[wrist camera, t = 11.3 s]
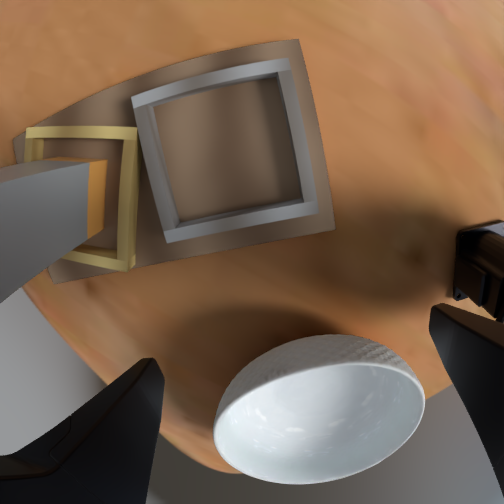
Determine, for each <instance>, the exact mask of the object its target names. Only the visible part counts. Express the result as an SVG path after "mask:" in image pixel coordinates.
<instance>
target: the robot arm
mask: <svg viewBox="0 0 504 504" xmlns="http://www.w3.org/2000/svg"><path fill="white" fill-rule="evenodd" d="M462 235H463V238H462ZM458 294H459V295H458ZM457 295H458V296H457ZM468 297H469V298H470V299H471V300H472V301H473V302H474V303H475V304H476V305H477V306H478V307H480V306H482V307H483V308H484V309H485V310H486V311H487V312H488V313H489V314H490V315H491V316H492V317H493V318H496V320H495V321H494V320H491V319H488V318H485V317H482V316H480V315H477V314H474V313H471V312H468V311H465V310H462V309H459V308H457V307H454V306H451V305H448V304H445V303H440V304H437V305H434V306H432V308H431V312H430V321H429V332H430V335H431V337H432V339H433V342H434V344H435V346H436V349H437V351H438V353H439V355H440V358H441V360H442V363H443V365H444V367H445V369H446V371H447V373H448V375H449V377H450V379H451V380H452V382H453V384H454V386H455V388H456V390H457V391H458V394H459V395H460V397H461V399H462V401H463V403H464V405H465V407H466V409H467V411H468V413H469V415H470V417H471V419H472V421H473V424H474V426H475V428H476V430H477V432H478V434H479V436H480V439H481V441H482V443H483V445H484V448H485V450H486V452H487V455H488V457H489V459H490V462H491V464H492V467H494V468H493V470H494V472H495V475H496V477H497V480H498V482H499V485H500V488H501V490H502V494H503V496H504V221H500V222H495V223H491V224H487V225H482V226H478V227H474V228H469V229H465V230H461V231H459V232H458V234H457V246H456V261H455V274H454V288H453V298H454V299H455V300H456V301H459V300H462V299H465V298H468ZM164 384H165V380H164V376H163V374H162V372H161V370H160V368H159V366H158V364H157V362H156V360H155V359H154V358H143V359H141V360H140V361H138V362H137V363H136V364H135V365H133V366H132V367H131V368H130V369H128V370H127V371H126V372H125V373H123V374H122V375H121V376H119V377H118V378H117V379H116V380H114V381H113V382H112V383H111V384H109V385H108V386H107V387H106V388H104V389H103V390H102V391H101V392H99V393H98V394H97V395H95V396H94V397H93V398H92V399H90V400H89V401H88V402H87V403H85V404H84V405H83V406H81V407H80V408H79V409H78V410H76V411H75V412H74V413H72V414H71V416H68V417H67V418H66V419H65V420H63V421H62V422H61V423H59V424H58V425H57V426H55V427H54V428H53V429H51V430H50V431H48V432H47V433H45V434H44V435H42V436H41V437H39V438H38V439H36V440H34V441H33V442H31V443H30V444H28V445H26V446H25V447H24V448H22V449H20V450H19V451H17V452H15V453H13V454H9V455H3V456H0V504H145V503H146V497H147V492H148V485H149V480H150V475H151V469H152V464H153V458H154V453H155V448H156V443H157V438H158V433H159V428H160V423H161V415H162V404H163V394H164Z"/></svg>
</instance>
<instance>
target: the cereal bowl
mask: <svg viewBox="0 0 504 504" xmlns="http://www.w3.org/2000/svg"><path fill="white" fill-rule="evenodd" d="M424 407H425V395H424V391H423V387H422V385H421V384H420V381H419V380H418V378H417V377H416V375H415V373H414V372H413V371H412V370H411V368H410V366H408V365H407V363H406V362H405V361H404V360H403V359H401V357H400V356H399V355H397V354H396V353H394V352H393V350H391V349H389V348H387V347H386V346H385V345H382V344H380V343H378V342H374V341H372V340H370V339H366V338H363V337H356V336H354V335H340V334H337V335H332V334H330V335H327V334H325V335H316V336H311V337H305V338H302V339H297V340H294V341H291V342H288V343H285V344H282V345H281V346H278V347H276V348H273V349H271V350H270V351H268V352H266V353H264V354H262V355H261V356H259V357H257V358H256V359H255V360H253V361H251V362H250V363H249V364H248V365H247V366H245V367H244V368H243V369H242V370H241V371H240V372H239V373H238V374H237V375H236V377H235V378H234V379H233V380H232V381H231V382H230V384H229V386H228V387H227V388H226V391H225V393H224V394H223V396H222V399H221V401H220V402H219V407H218V409H217V411H216V416H215V420H214V424H213V439H214V443H215V446H216V448H217V450H218V452H219V454H220V455H221V456H222V458H223V459H224V460H225V461H226V462H227V463H229V464H230V465H231V466H232V467H234V468H235V469H237V470H239V471H241V472H243V473H245V474H247V475H249V476H252V477H255V478H258V479H262V480H265V481H271V482H275V483H283V484H312V483H320V482H327V481H332V480H336V479H340V478H344V477H347V476H350V475H353V474H356V473H358V472H361V471H363V470H365V469H367V468H369V467H372V466H374V465H375V464H377V463H379V462H380V461H382V460H384V459H385V458H387V457H388V456H389V455H391V454H392V453H394V452H395V451H396V450H397V449H399V448H400V447H401V445H403V444H404V443H405V442H406V441H407V440H408V439H409V437H410V436H411V435H412V434H413V433H414V431H415V430H416V428H417V426H418V425H419V423H420V421H421V418H422V415H423V412H424Z"/></svg>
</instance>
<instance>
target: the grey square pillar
mask: <svg viewBox="0 0 504 504" xmlns="http://www.w3.org/2000/svg"><path fill="white" fill-rule="evenodd" d="M107 161H108V159H93V158H75V157H55V158H49V159H43V160H37V161H32V162H26V163H21V164H16V165H11V166H7V167H2V168H0V303H1V302H3V301H4V300H5V299H6V298H8V297H9V296H10V295H11V294H12V293H14V292H15V291H16V290H18V289H19V288H20V287H22V286H23V285H24V284H25V283H27V282H28V281H29V280H31V279H32V278H33V277H35V276H36V275H37V274H39V273H40V272H42V271H43V270H44V269H46V268H47V267H48V266H50V265H51V264H53V263H54V262H55V261H57V260H58V259H60V258H61V257H63V256H64V255H65V254H67V253H68V252H70V251H71V250H73V249H74V248H76V247H77V246H79V245H80V244H82V243H83V242H85V241H86V240H88V239H89V238H91V237H92V236H94V235H95V234H97V233H98V232H100V231H101V230H103V229H104V211H105V189H106V174H107Z"/></svg>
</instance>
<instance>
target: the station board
mask: <svg viewBox="0 0 504 504" xmlns="http://www.w3.org/2000/svg"><path fill="white" fill-rule="evenodd" d="M13 144H14V150H15V156H16V161H17V164H21V163H26V162H32V161H37V160H43V159H49V158H55V157H75V158H93V159H108V161H107V174H106V189H105V211H104V229H103V230H101V231H100V232H98V233H97V234H95V235H94V236H92V237H91V238H89V239H88V240H86V241H85V242H83V243H82V244H80V245H79V246H77V247H76V248H74V249H73V250H71V251H70V252H68V253H67V254H65V255H64V256H63V257H61V258H60V259H58V260H57V261H55V262H54V263H53V264H51V265H50V266H48V267H47V268H48V271H49V273H50V276H51V278H52V281H53V283H54V284H58V283H63V282H68V281H73V280H78V279H83V278H88V277H93V276H98V275H103V274H108V273H113V272H118V271H123V272H129V270H130V269H133V268H138V267H143V266H148V265H153V264H158V263H163V262H168V261H174V260H179V259H184V258H189V257H194V256H199V255H204V254H210V253H215V252H220V251H225V250H230V249H236V248H241V247H246V246H251V245H257V244H262V243H267V242H272V241H278V240H283V239H288V238H294V237H299V236H304V235H310V234H315V233H320V232H326V231H331V230H336V227H335V219H334V212H333V205H332V198H331V191H330V185H329V178H328V172H327V166H326V160H325V155H324V149H323V144H322V138H321V133H320V128H319V123H318V118H317V113H316V108H315V104H314V99H313V95H312V90H311V86H310V82H309V78H308V73H307V69H306V65H305V61H304V57H303V54H302V50H301V46H300V42H299V39H293V40H284V41H277V42H270V43H264V44H257V45H252V46H246V47H241V48H236V49H231V50H227V51H222V52H218V53H214V54H209V55H205V56H202V57H198V58H194V59H190V60H187V61H183V62H180V63H177V64H173V65H170V66H167V67H164V68H161V69H158V70H155V71H152V72H149V73H146V74H143V75H141V76H138V77H135V78H133V79H130V80H127V81H125V82H122V83H120V84H117V85H115V86H113V87H110V88H108V89H106V90H103V91H101V92H99V93H97V94H94V95H92V96H90V97H88V98H86V99H84V100H82V101H79V102H77V103H75V104H73V105H71V106H69V107H68V108H66V109H64V110H62V111H60V112H58V113H56V114H54V115H52V116H51V117H49V118H47V119H45V120H44V121H42V122H40V123H38V124H37V125H35V126H33V127H28V128H26V131H25V132H24V133H22V134H20V135H19V136H17V137H16V138H14V139H13Z"/></svg>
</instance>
